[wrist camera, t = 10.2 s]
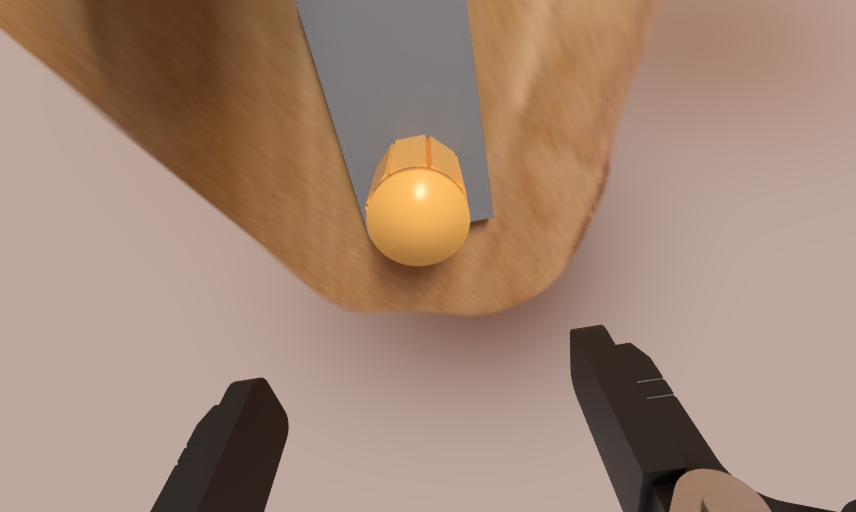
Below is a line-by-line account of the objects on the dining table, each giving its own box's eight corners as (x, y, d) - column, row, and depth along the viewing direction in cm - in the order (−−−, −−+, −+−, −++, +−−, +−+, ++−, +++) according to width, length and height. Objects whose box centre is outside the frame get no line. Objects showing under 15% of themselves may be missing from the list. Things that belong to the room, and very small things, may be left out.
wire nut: (368, 145, 23) (353, 183, 18) (452, 128, 22) (462, 162, 17) (389, 221, 25) (380, 273, 20) (465, 207, 25) (476, 257, 20)
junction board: (297, -15, 20) (264, -24, 16) (456, -55, 19) (465, -74, 15) (372, 229, 27) (363, 270, 23) (490, 207, 26) (503, 244, 22)
